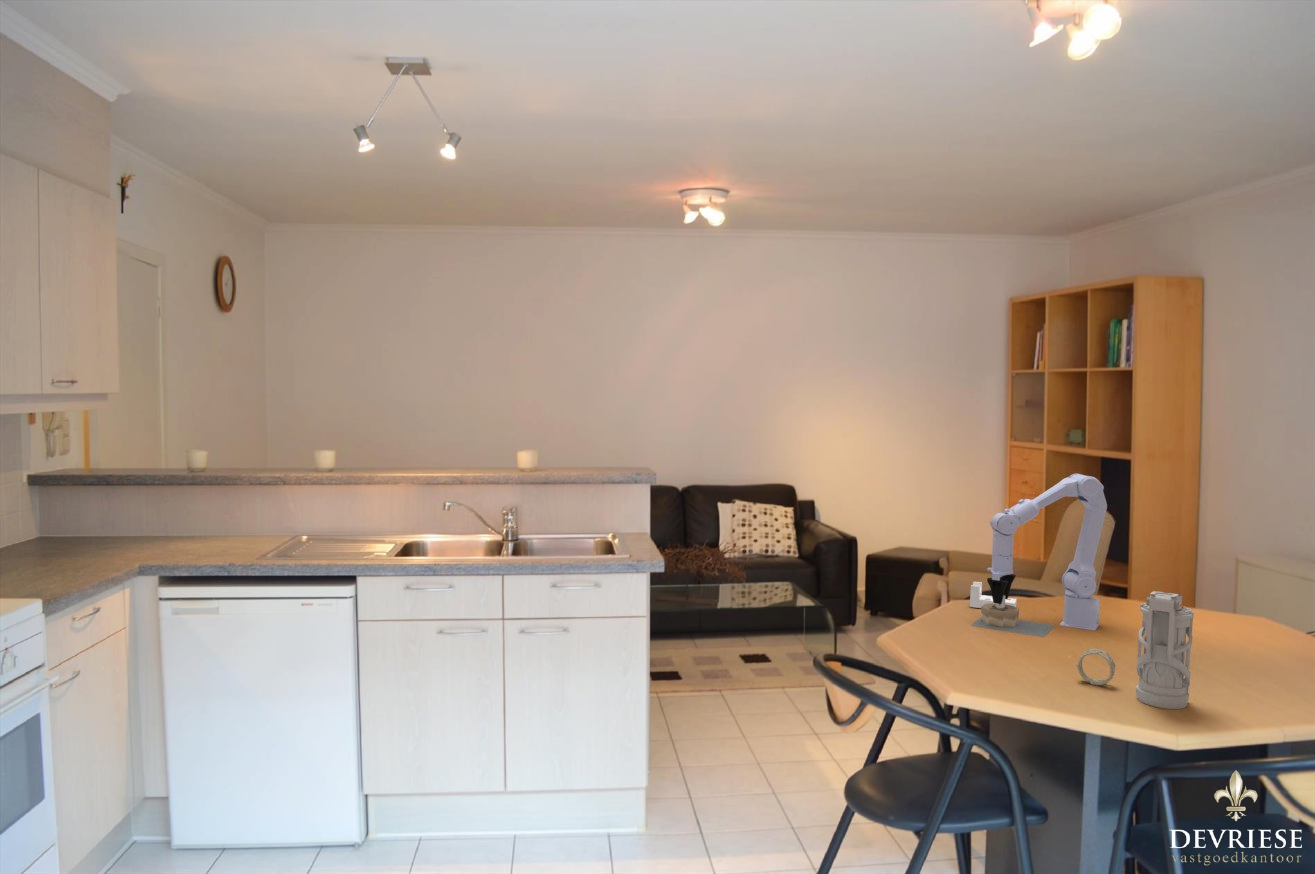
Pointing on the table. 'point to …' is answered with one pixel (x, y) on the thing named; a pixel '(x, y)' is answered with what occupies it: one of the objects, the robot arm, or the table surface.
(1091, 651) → the bracelet
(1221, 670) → the table surface
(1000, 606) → the peg
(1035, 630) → the mat
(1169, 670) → the lantern
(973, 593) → the bracket
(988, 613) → the ring
